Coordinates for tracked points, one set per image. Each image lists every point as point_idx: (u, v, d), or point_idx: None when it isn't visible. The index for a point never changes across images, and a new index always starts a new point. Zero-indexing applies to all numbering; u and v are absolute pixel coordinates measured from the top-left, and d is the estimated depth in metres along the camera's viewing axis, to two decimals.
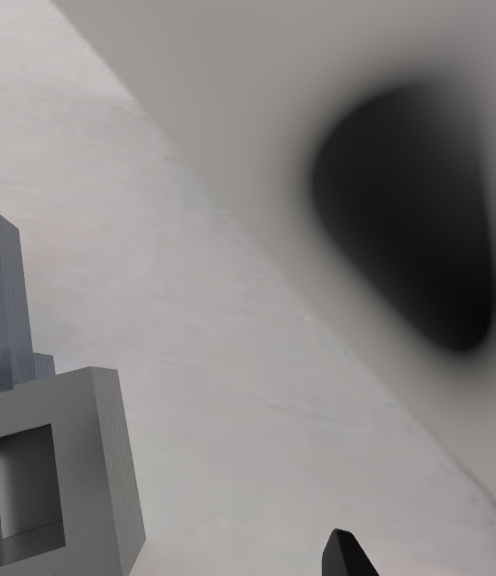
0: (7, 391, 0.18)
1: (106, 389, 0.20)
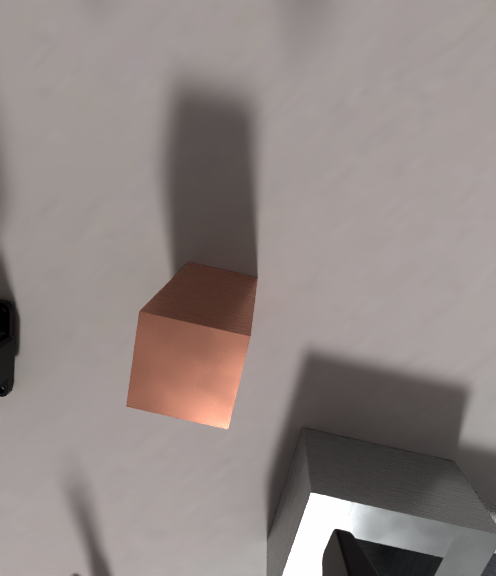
0: None
1: None
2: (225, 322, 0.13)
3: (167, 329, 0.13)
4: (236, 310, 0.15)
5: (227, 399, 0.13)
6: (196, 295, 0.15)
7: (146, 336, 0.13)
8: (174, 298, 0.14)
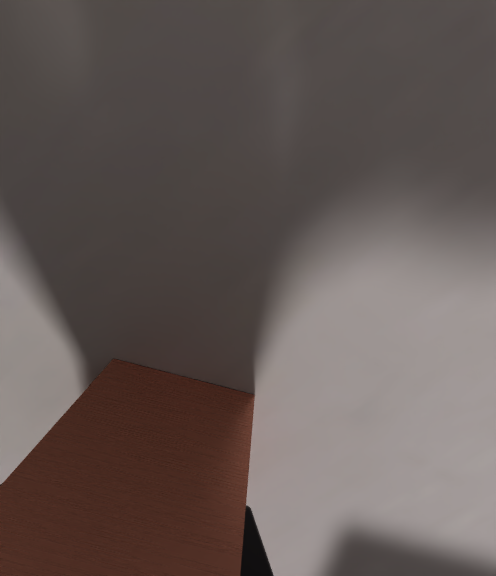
0: None
1: None
2: None
3: None
4: None
5: None
6: (59, 564, 0.05)
7: None
8: None
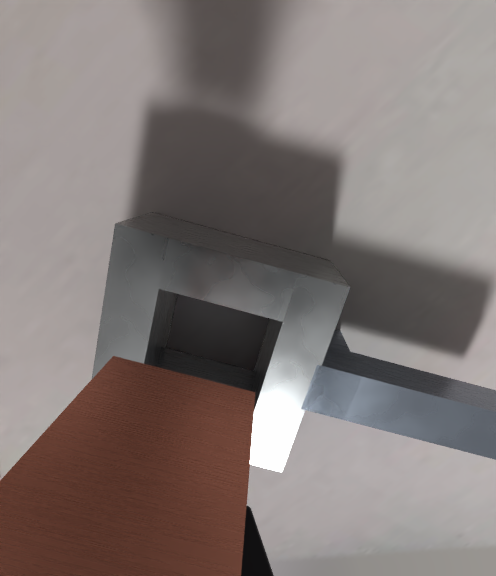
0: (302, 403, 0.17)
1: None
2: None
3: None
4: None
5: None
6: (59, 560, 0.05)
7: None
8: None
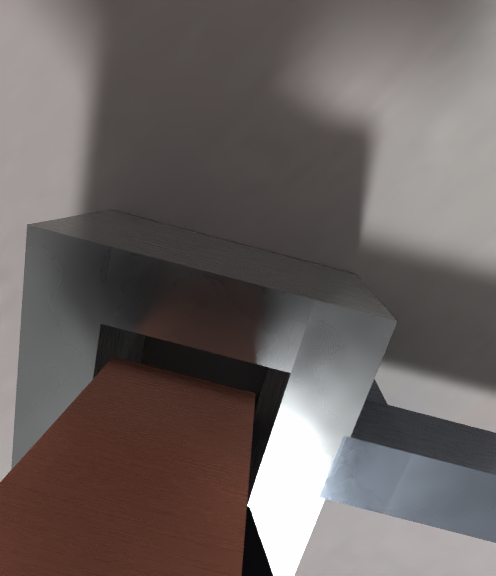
0: (321, 489, 0.11)
1: None
2: None
3: None
4: None
5: None
6: (59, 562, 0.05)
7: None
8: None
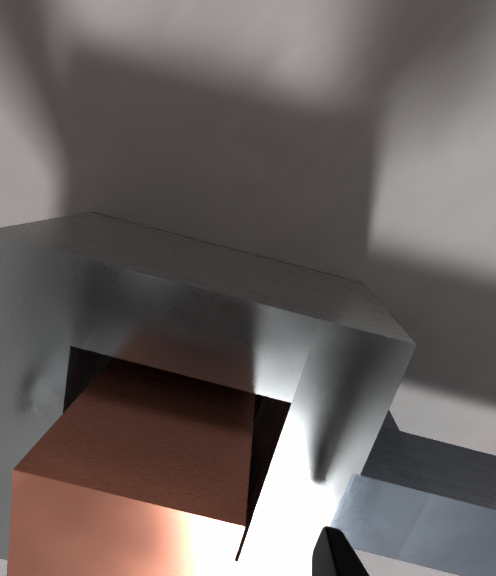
0: None
1: None
2: (195, 480, 0.07)
3: (72, 505, 0.06)
4: (221, 428, 0.08)
5: None
6: (153, 393, 0.09)
7: (31, 514, 0.06)
8: (108, 410, 0.08)
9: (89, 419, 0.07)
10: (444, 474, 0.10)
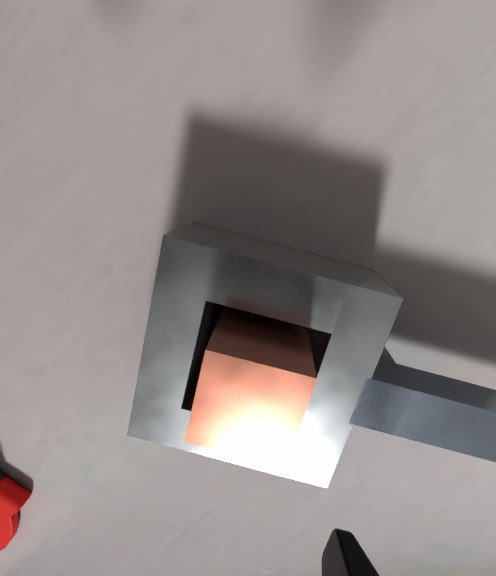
0: (350, 417, 0.16)
1: None
2: (288, 362, 0.13)
3: (232, 368, 0.13)
4: (293, 345, 0.15)
5: (288, 439, 0.13)
6: (252, 328, 0.15)
7: (210, 374, 0.13)
8: (233, 333, 0.14)
9: (226, 335, 0.14)
10: (422, 384, 0.16)
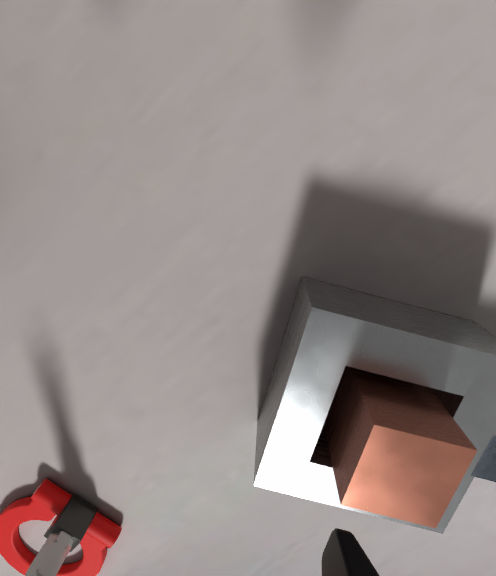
0: (472, 470, 0.17)
1: None
2: (443, 432, 0.14)
3: (397, 441, 0.14)
4: (433, 409, 0.16)
5: (441, 503, 0.14)
6: (388, 391, 0.16)
7: (375, 446, 0.14)
8: (379, 399, 0.15)
9: (377, 403, 0.15)
10: None
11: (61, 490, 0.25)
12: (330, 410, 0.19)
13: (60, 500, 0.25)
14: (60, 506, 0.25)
